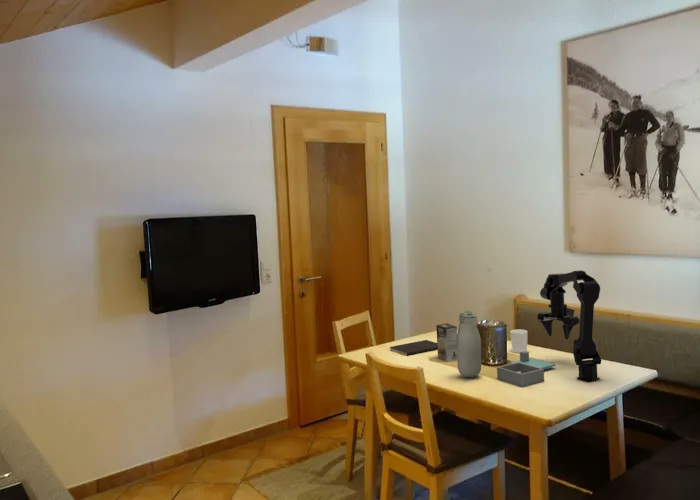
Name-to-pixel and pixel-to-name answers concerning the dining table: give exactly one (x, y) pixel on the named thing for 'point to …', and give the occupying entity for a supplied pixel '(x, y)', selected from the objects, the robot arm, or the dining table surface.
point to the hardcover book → (415, 347)
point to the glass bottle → (468, 345)
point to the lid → (533, 361)
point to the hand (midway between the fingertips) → (558, 337)
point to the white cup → (519, 340)
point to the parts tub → (520, 374)
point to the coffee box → (447, 342)
